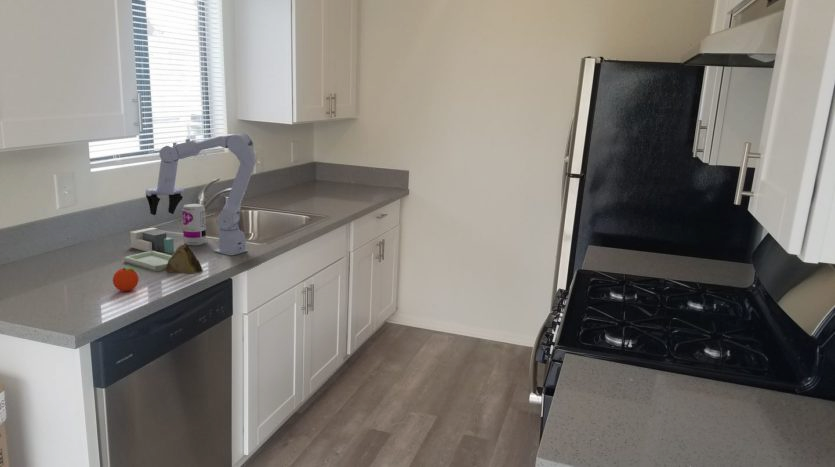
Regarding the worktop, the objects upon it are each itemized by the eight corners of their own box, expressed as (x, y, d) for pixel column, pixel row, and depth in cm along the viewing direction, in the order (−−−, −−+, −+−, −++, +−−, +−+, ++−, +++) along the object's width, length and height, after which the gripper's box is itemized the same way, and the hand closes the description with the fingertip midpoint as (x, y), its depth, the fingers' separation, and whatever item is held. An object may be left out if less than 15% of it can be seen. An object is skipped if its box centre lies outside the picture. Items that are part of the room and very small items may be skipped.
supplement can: (191, 247, 229) (190, 208, 226) (179, 243, 234) (177, 205, 231) (210, 243, 236) (209, 205, 232) (198, 239, 240) (196, 202, 237)
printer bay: (171, 247, 228) (170, 231, 227) (149, 252, 220) (148, 236, 219) (153, 242, 233) (152, 227, 232) (131, 247, 225) (130, 231, 224)
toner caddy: (176, 250, 223) (176, 235, 222) (165, 253, 219) (164, 237, 218) (155, 245, 229) (154, 230, 228) (143, 248, 225) (142, 232, 224)
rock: (155, 266, 197) (174, 268, 192) (166, 242, 200) (185, 243, 195) (180, 279, 205) (200, 281, 200) (190, 256, 208) (210, 257, 203)
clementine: (142, 285, 185) (140, 263, 184) (144, 292, 179) (142, 269, 178) (113, 288, 182) (111, 266, 180) (114, 295, 176) (112, 272, 174)
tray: (184, 264, 208) (184, 259, 208) (157, 271, 199) (156, 266, 198) (152, 255, 217) (152, 250, 216) (124, 262, 207) (123, 257, 207)
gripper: (176, 174, 227) (172, 209, 230) (142, 174, 214) (137, 211, 217) (189, 180, 224) (184, 215, 227) (154, 180, 211) (149, 217, 214)
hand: (162, 213), depth 222 cm, fingers open, 7 cm apart
